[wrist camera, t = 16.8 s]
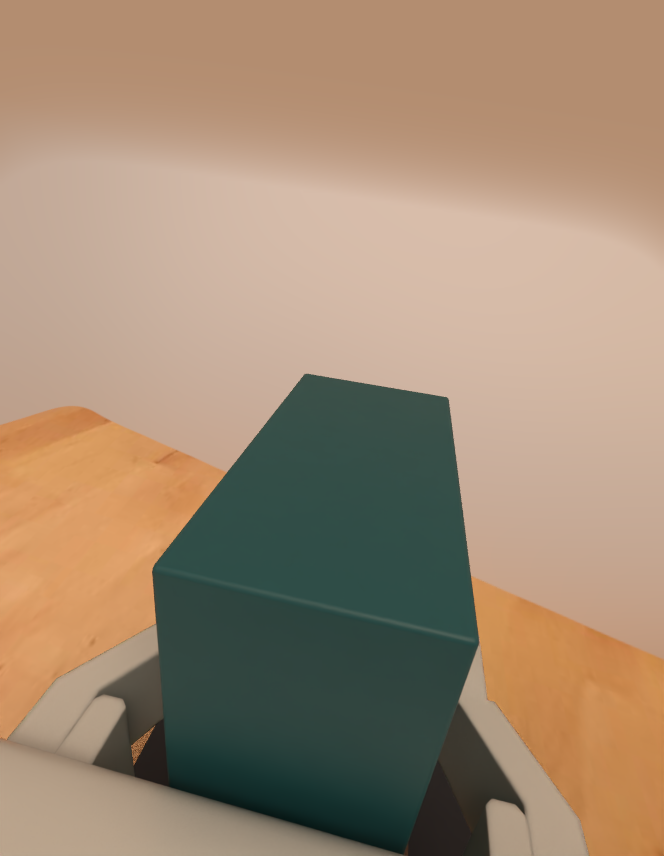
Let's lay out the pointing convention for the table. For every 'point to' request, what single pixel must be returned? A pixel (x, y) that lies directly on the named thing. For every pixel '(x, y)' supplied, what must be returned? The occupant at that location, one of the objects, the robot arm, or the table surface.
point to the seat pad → (432, 833)
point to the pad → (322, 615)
